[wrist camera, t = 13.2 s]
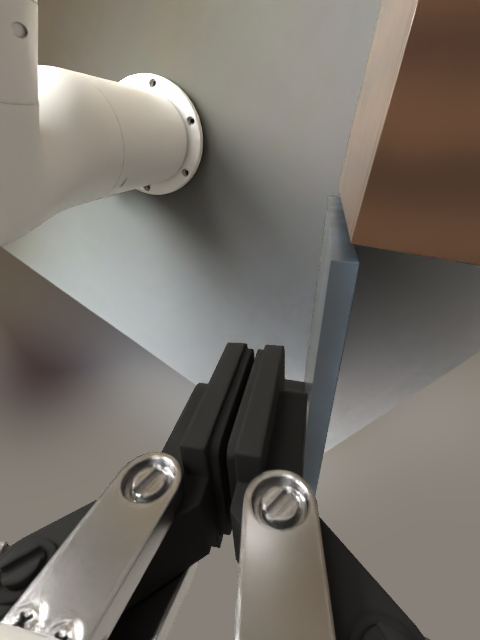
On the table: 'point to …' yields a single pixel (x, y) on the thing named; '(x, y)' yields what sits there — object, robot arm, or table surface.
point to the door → (327, 334)
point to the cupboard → (418, 134)
